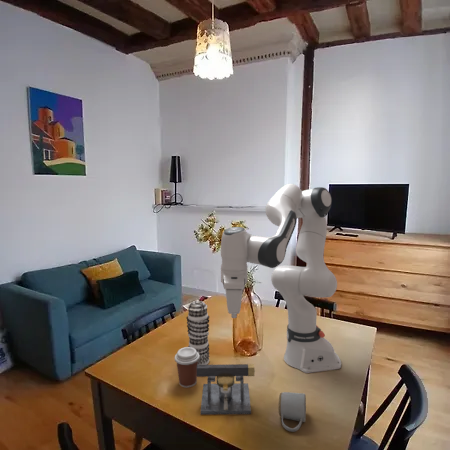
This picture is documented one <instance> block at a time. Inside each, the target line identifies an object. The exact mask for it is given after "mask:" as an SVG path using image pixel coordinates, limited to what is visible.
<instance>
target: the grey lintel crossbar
mask: <svg viewBox="0 0 450 450" xmlns="http://www.w3.org/2000/svg"><path fill="white" fill-rule="evenodd" d="M210 376H216V384H217V385H218V386H220V387H222V388H223V391H228V388H229V387H231V386H233V385H234V384H235V377H236V376H243V377H255V363H247V364H243V363H242V364H241V363H240V364H234V363H233V364H230V363H229V364H207V365H197V378H198V377H204V378H205V377H207V378H208V377H210Z"/></svg>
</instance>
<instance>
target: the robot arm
mask: <svg viewBox="0 0 450 450" xmlns="http://www.w3.org/2000/svg"><path fill="white" fill-rule="evenodd" d="M332 202H333V199H332V195H331V193H330V190H328V189H327V188H326V187H320V186H319V187H314V188H310V189H305V190H302V189H301V188H300V186H298V185H297V184H294V183H287V184H285V185H283V186H281V188H279V189H278V190H277V191H276V192H275V193H274V194H273V195H272V196H271V197H270V199H269V200H268V201H267V203H266V206H265V209H264V210H265V215H266V217H267V219H268V220H269V222H271V223H272V224H273V225H275V226H277V227H278V228H277V231H276V232H275V234H274V235H272V236H262V235H261V236H260V235H254V234H253V235H252V234H251V233H249V232H247V230H246V228H245V227H241V226H234V227H229V228H226V229H225V230H223V231H222V235H221V240H220V241H221V243H220V257H221V265H220V282H221V283H222V285H223V289H224V290H225V299H226V306H227V307H226V308H227V313H228V314H230V317H231V318H232V319H236V318H237V316H238V314H240V312H241V308H242V300H243V290H245V287H246V284H247V283H248V264H247V263H250V264H254V265H259V266H263V267H266V268H269V269H273V270H272V273H271V280H270V281H271V284H272V286H273V288H274V289H275V290H276V291H277V292H279V294H280V296H282V298H283V300H284V302H285V304H286V305H285V306H286V308H287V316H288V317H287V326H286V347H285V353H284V355H283V360H284V362H285V363H286V364H287V365H288V366H291V367H292V368H295V369H297V370H299V371H302V372H303V373H305V374H308V373H318V372H325V371H333V370H339V369H341V367H342V361H341V358H340V357H339V355H338V354H337V353H336V352H335V349H334V346H333V344H332V343H331V342H330V341H329V340H328V339H326V338H325V337H326V335H325V333H324V331H322V329H321V328H320V327H319V326H318V325H317V309H316V307H315V306H314V304H312V303H310V302H309V301H308V300H307V299H306V298H305V297H313V298H330V297H333V296H334V294H335V293H336V292H337V288H338V281H337V278H336V275H335V274H334V273H333V272H332V271H331V270H330V269H329V268H328V266H327V265H326V263H325V260H324V252H325V247H326V245H325V244H326V239H327V232H328V231H327V230H328V229H327V227H328V226H327V225H328V224H327V222H328V221H327V219H326V218H325V217H327V216H328V214H329V212H330V210H331V207H332V204H333V203H332ZM297 219H302V225H301V227H300V230H299V234H298V237H297V243H296V246H295V253H296V256H297V257H298V258H299V259H300V260H302V261H303V262H305V263H306V266H297V265H290V264H289V265H288V264H287V265H285V264H284V265H281V264H282V263H283V262H284V260H285V258H286V257H285V256H286V254H287V248H288V245H289V244H290V241H291V238H292V236H293V234H294V231H295V228H296V226H297V221H298V220H297Z"/></svg>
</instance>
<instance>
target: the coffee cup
mask: <svg viewBox="0 0 450 450" xmlns="http://www.w3.org/2000/svg"><path fill="white" fill-rule="evenodd" d="M199 358H200V355H199V353H198V352H197V351H196V349H194V348H192V347H188V346H185V347H182V348H179V349H178V350H177V353H176V354H175V355H174V362H176V367H177V368H176V369H177V375H178V383H179V385H180V386H181V387H182V388H191V387H192V388H193V387H194V386H195V385H197V382H198V377H197V365H198V360H199Z"/></svg>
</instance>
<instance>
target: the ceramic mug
mask: <svg viewBox="0 0 450 450" xmlns="http://www.w3.org/2000/svg"><path fill="white" fill-rule="evenodd" d="M278 415H279V417H280V418H281V424H282V427H283V428H284V430H286V431H288V432H291V433H292V432H297V431H299V429H300V428H301V426H302V424H303V423H306V419H307V418H306V417H307V416H306V415H307V399H306V393H303V392H302V393H300V392H291V391H290V392H288V391H283V392H280V393H279V395H278ZM284 419H286V420H293V421H297V422H298V424H297V425H296V426H295V427H293V428H292V427H289V426H288V425H286V424H285V422H284Z"/></svg>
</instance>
